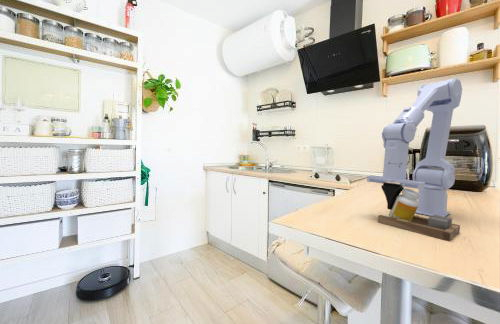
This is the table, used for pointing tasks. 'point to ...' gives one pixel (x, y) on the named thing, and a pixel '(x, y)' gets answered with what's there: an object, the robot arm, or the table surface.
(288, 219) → the table surface
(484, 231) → the table surface
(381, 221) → the beam
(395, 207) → the supplement bottle
